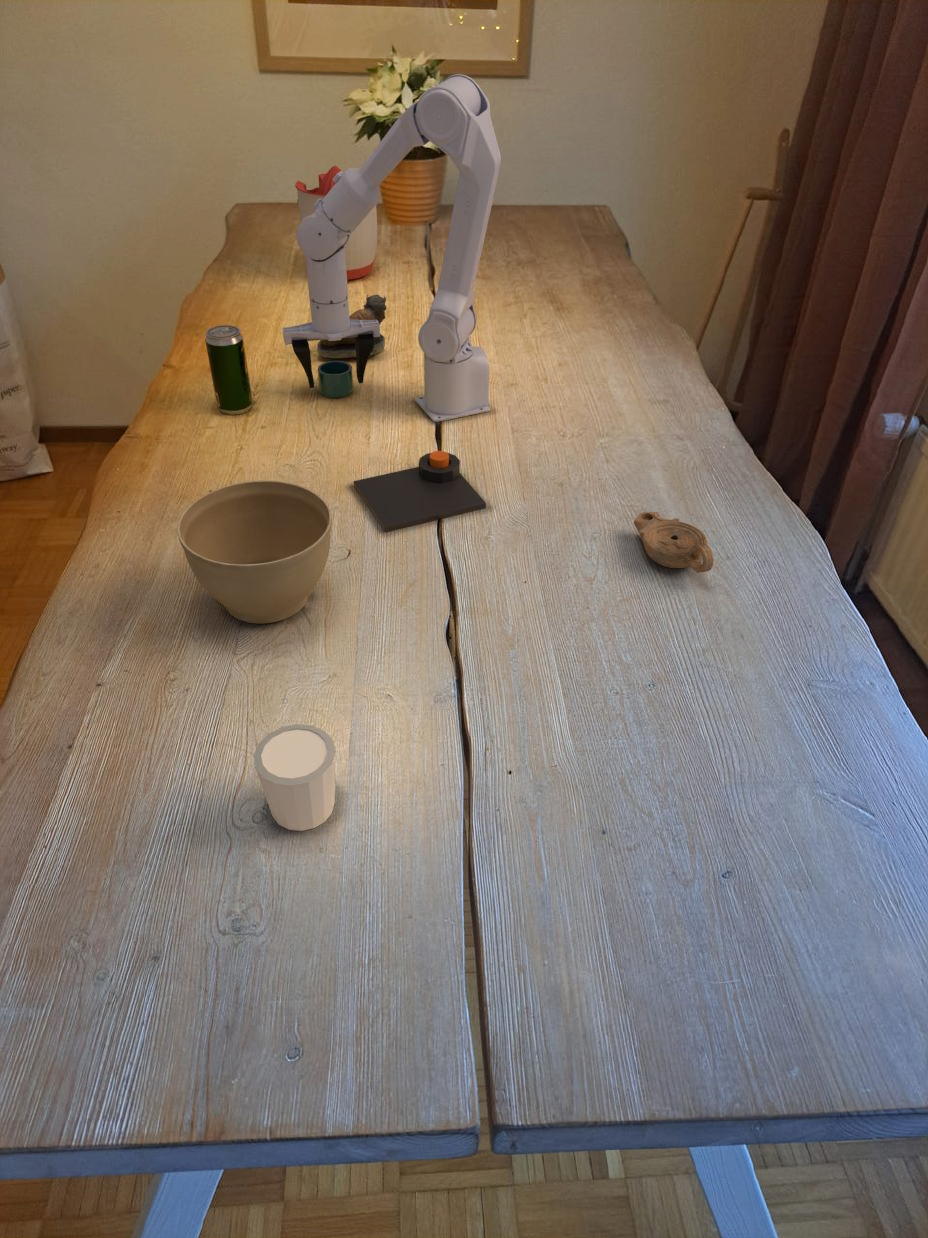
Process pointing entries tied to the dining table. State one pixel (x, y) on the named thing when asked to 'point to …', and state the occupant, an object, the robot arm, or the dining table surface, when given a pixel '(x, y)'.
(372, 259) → the citrus juicer
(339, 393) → the teal cup
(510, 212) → the dining table surface
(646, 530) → the oil lamp
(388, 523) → the scale
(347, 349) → the bison figurine
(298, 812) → the beige cylinder
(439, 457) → the button
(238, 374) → the beer can
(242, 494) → the planter bowl
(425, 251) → the dining table surface
